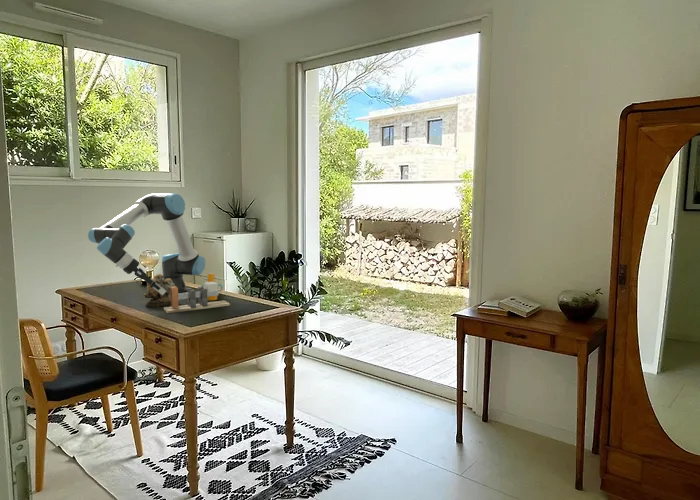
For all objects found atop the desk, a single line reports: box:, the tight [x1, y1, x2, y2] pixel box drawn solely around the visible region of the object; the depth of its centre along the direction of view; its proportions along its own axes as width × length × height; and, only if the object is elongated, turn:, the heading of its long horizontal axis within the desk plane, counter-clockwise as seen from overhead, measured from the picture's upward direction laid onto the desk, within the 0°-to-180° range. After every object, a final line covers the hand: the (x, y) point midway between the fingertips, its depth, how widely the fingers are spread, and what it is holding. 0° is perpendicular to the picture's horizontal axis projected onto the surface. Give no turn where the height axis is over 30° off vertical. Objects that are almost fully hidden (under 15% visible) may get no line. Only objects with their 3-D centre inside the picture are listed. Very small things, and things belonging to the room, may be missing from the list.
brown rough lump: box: [143, 273, 175, 309], centre depth 259 cm, size 18×12×17 cm, turn 134°
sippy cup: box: [200, 272, 223, 302], centre depth 272 cm, size 12×10×15 cm
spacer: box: [203, 281, 219, 292], centre depth 256 cm, size 7×5×4 cm
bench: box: [163, 286, 231, 314], centre depth 253 cm, size 9×32×10 cm, turn 122°
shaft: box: [170, 286, 220, 308], centre depth 252 cm, size 4×24×10 cm, turn 122°
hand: (161, 290), depth 242 cm, fingers open, 13 cm apart
